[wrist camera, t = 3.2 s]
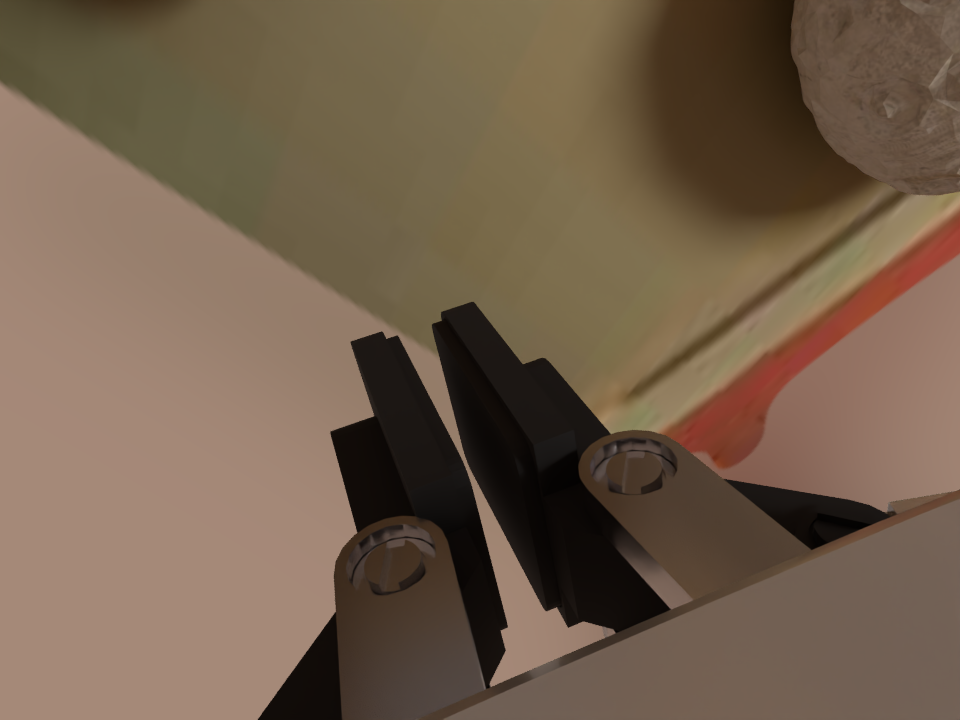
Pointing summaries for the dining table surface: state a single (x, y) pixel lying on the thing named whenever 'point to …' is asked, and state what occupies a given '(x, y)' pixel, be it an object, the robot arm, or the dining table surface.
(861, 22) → the decorative shell
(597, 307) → the dining table surface
